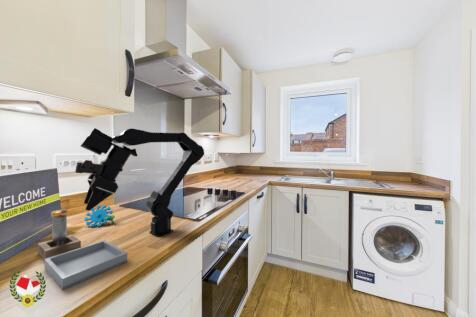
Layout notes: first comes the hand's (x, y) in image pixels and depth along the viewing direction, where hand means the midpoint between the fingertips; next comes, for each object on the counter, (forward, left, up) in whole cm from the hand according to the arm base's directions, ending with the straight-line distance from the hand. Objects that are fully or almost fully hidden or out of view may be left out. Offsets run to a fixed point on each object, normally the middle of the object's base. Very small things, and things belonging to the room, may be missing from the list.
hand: (86, 206), depth 60 cm
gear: (-12, -22, -14) cm, 29 cm away
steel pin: (+5, -6, -14) cm, 16 cm away
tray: (+3, +9, -14) cm, 17 cm away
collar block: (+5, -6, -14) cm, 16 cm away
